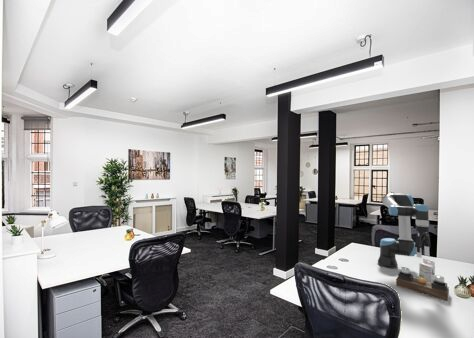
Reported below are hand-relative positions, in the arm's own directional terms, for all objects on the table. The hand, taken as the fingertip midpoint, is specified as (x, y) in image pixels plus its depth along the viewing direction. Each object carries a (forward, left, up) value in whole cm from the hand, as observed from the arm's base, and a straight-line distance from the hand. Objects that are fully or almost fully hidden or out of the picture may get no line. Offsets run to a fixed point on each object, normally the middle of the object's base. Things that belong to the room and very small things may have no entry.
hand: (423, 256), depth 172 cm
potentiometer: (+3, 0, -18) cm, 18 cm away
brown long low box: (+3, 0, -23) cm, 23 cm away
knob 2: (+3, +9, -15) cm, 17 cm away
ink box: (-22, 0, -23) cm, 32 cm away
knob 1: (+3, -10, -15) cm, 18 cm away
